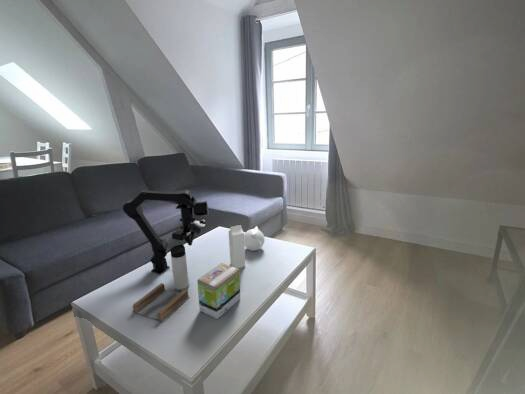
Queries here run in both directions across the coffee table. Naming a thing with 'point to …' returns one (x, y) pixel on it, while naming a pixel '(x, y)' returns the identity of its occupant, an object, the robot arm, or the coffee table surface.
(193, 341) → the coffee table surface
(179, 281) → the travel mug
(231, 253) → the milk
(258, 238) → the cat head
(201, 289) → the tea box
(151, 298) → the cradle
